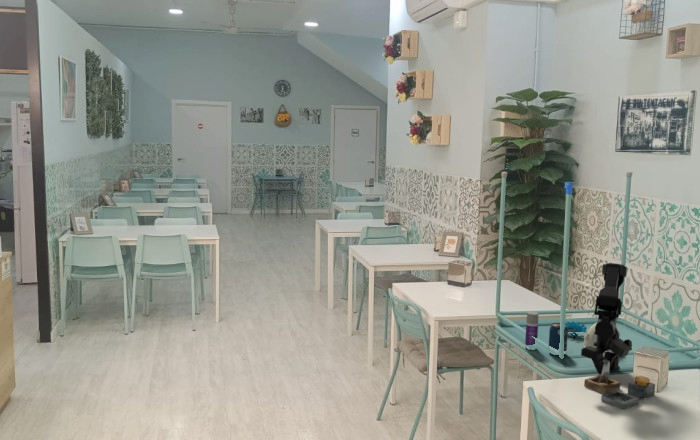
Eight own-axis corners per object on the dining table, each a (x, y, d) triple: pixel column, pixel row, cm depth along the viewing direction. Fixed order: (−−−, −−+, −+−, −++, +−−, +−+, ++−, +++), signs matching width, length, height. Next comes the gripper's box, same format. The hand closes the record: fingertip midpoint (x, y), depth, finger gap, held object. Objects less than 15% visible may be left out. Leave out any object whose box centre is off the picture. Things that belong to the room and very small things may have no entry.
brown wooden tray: (584, 385, 235) (584, 379, 235) (598, 381, 240) (599, 374, 239) (605, 394, 228) (605, 387, 228) (619, 388, 233) (620, 382, 233)
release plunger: (631, 391, 229) (632, 377, 228) (638, 388, 231) (639, 375, 231) (643, 395, 225) (644, 382, 224) (651, 392, 228) (652, 379, 227)
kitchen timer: (618, 346, 278) (621, 311, 276) (619, 357, 265) (622, 320, 263) (583, 342, 283) (585, 307, 281) (582, 352, 270) (585, 316, 268)
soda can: (567, 357, 264) (569, 328, 262) (549, 356, 265) (550, 326, 263) (565, 351, 270) (567, 323, 269) (547, 350, 272) (549, 321, 270)
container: (528, 350, 271) (530, 314, 268) (522, 347, 275) (524, 311, 273) (539, 350, 272) (541, 314, 270) (532, 346, 276) (534, 311, 274)
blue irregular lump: (588, 331, 292) (584, 320, 285) (587, 343, 288) (583, 332, 282) (562, 331, 297) (558, 319, 290) (561, 343, 294) (556, 331, 287)
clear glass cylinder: (604, 384, 231) (605, 363, 230) (594, 380, 234) (596, 359, 233) (610, 381, 233) (612, 361, 232) (601, 378, 236) (602, 357, 235)
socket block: (601, 400, 223) (601, 389, 222) (634, 388, 233) (635, 377, 233) (623, 409, 216) (624, 397, 215) (657, 396, 227) (658, 385, 226)
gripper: (610, 340, 219) (607, 386, 221) (643, 331, 230) (639, 374, 232) (581, 331, 228) (578, 375, 230) (614, 323, 239) (611, 365, 241)
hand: (603, 372), depth 233 cm, fingers closed on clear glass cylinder, 4 cm apart
